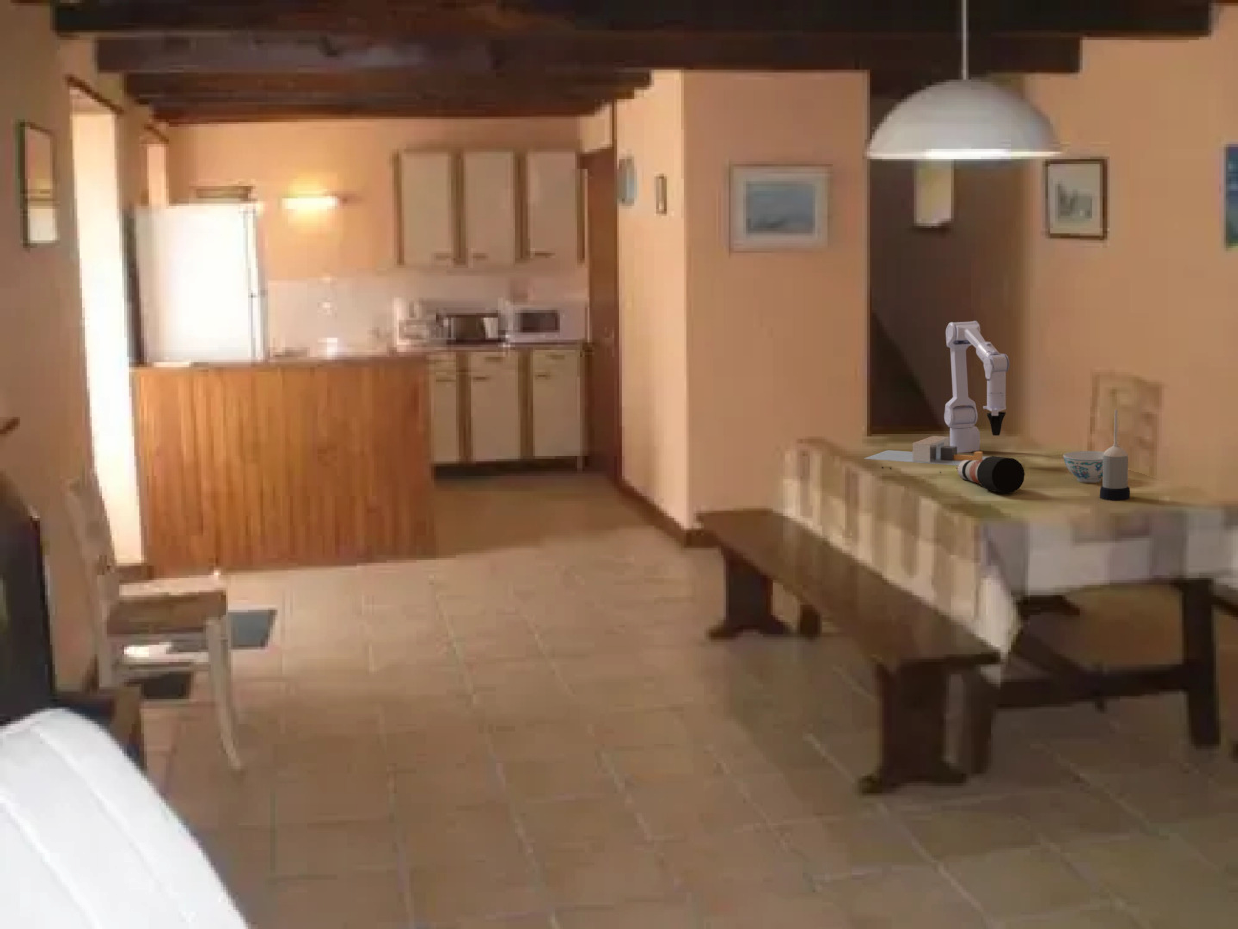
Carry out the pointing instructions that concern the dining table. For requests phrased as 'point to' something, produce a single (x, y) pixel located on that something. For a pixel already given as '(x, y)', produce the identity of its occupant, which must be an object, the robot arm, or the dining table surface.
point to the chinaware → (1085, 465)
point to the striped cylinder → (993, 473)
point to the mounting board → (908, 457)
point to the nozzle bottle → (1115, 471)
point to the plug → (951, 455)
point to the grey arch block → (929, 448)
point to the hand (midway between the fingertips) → (996, 435)
